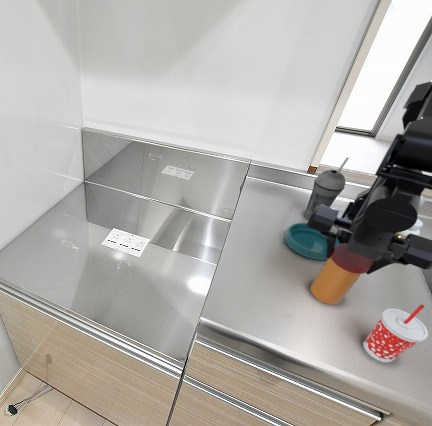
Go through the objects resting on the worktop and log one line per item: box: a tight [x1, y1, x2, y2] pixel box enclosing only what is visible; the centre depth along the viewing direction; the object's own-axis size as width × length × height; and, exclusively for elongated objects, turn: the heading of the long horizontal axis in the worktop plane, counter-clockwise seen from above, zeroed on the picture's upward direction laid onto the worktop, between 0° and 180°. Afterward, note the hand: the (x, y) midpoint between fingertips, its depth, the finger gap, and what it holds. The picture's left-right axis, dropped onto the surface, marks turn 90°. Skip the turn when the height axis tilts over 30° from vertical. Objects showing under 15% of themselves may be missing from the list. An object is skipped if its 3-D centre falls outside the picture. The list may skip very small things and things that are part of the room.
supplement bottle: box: [396, 218, 424, 238], centre depth 75 cm, size 5×5×10 cm
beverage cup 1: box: [304, 157, 350, 220], centre depth 83 cm, size 7×7×20 cm
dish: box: [284, 222, 340, 261], centre depth 78 cm, size 12×12×3 cm
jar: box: [309, 257, 362, 306], centre depth 63 cm, size 6×6×12 cm
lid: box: [330, 244, 374, 275], centre depth 59 cm, size 7×7×2 cm
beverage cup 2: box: [362, 304, 429, 363], centre depth 52 cm, size 6×6×14 cm
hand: (346, 264), depth 60 cm, fingers closed on lid, 6 cm apart
